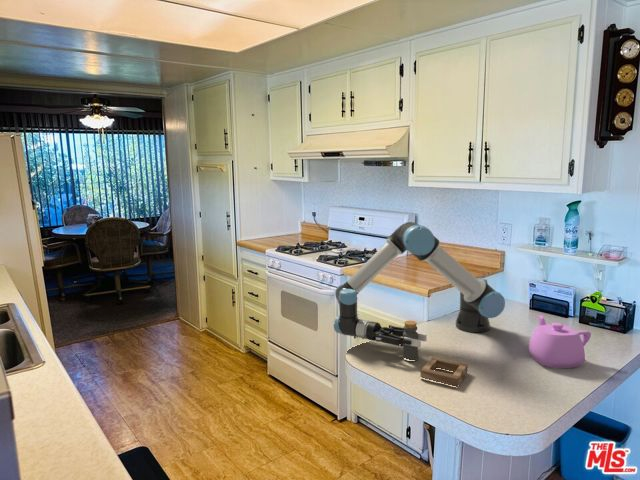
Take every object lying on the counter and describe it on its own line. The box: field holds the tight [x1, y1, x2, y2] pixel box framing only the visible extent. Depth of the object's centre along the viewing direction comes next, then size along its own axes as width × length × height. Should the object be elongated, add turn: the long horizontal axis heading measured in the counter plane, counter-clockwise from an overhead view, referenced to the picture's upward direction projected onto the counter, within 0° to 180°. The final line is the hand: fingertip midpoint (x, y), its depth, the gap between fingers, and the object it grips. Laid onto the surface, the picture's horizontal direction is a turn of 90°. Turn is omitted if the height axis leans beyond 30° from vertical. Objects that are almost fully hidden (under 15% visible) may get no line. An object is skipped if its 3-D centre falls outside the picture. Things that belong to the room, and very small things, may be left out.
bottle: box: [402, 320, 419, 360], centre depth 173 cm, size 6×6×15 cm
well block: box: [419, 356, 469, 387], centre depth 159 cm, size 13×13×4 cm
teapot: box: [528, 314, 592, 369], centre depth 170 cm, size 23×21×15 cm
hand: (423, 340), depth 170 cm, fingers closed on bottle, 6 cm apart
